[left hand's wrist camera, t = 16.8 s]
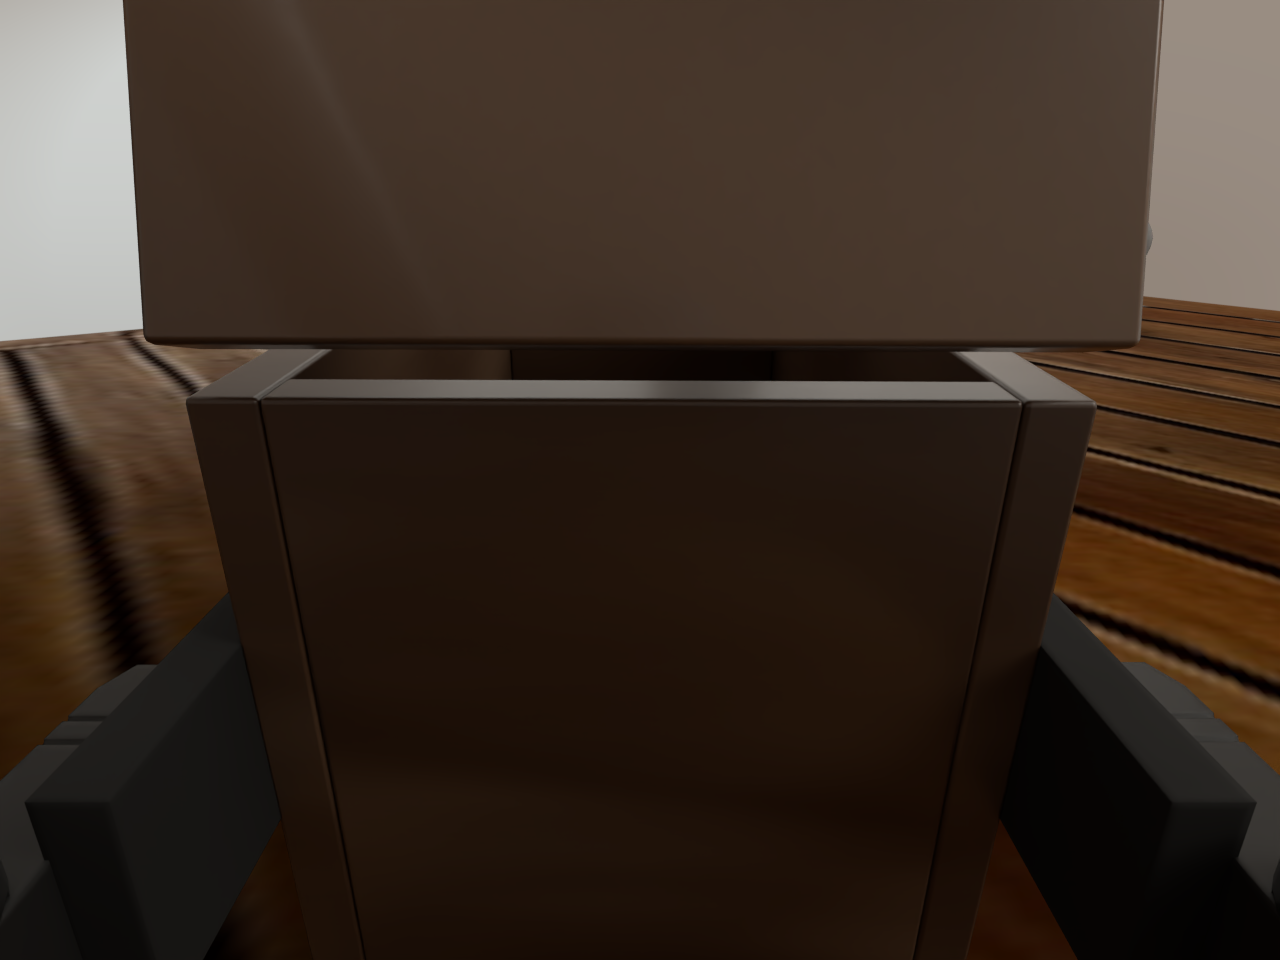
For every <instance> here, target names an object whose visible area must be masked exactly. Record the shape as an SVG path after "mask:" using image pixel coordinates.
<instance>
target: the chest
mask: <svg viewBox="0 0 1280 960" xmlns="http://www.w3.org/2000/svg"><path fill="white" fill-rule="evenodd" d="M186 407H187V411H188V415H189V420H190V424H191V429H192V433H193V437H194V442H195V446H196V450H197V455H198V459H199V464H200V468H201V472H202V477H203V481H204V485H205V490H206V494H207V499H208V503H209V507H210V512H211V516H212V521H213V525H214V529H215V534H216V538H217V542H218V547H219V551H220V556H221V560H222V564H223V569H224V573H225V577H226V582H227V586H228V591H229V595H230V599H231V604H232V608H233V613H234V617H235V621H236V626H237V630H238V634H239V639H240V643H241V646H242V650H243V655H244V659H245V663H246V668H247V672H248V676H249V681H250V685H251V689H252V694H253V698H254V702H255V707H256V711H257V715H258V720H259V724H260V728H261V733H262V737H263V741H264V746H265V750H266V754H267V759H268V763H269V767H270V772H271V776H272V780H273V785H274V789H275V793H276V798H277V802H278V806H279V811H280V815H281V823H282V827H283V832H284V836H285V840H286V845H287V849H288V853H289V858H290V862H291V867H292V871H293V875H294V880H295V884H296V889H297V893H298V897H299V902H300V906H301V910H302V915H303V919H304V924H305V928H306V932H307V937H308V941H309V946H310V950H311V954H312V959H313V960H966V959H967V954H968V950H969V946H970V942H971V937H972V933H973V929H974V925H975V921H976V916H977V912H978V908H979V904H980V899H981V895H982V891H983V887H984V883H985V878H986V874H987V870H988V866H989V861H990V857H991V853H992V849H993V845H994V840H995V836H996V832H997V828H998V823H999V819H1000V815H1001V811H1002V807H1003V802H1004V798H1005V794H1006V790H1007V785H1008V781H1009V777H1010V773H1011V769H1012V764H1013V760H1014V756H1015V752H1016V747H1017V743H1018V739H1019V735H1020V731H1021V726H1022V722H1023V718H1024V714H1025V709H1026V705H1027V701H1028V697H1029V692H1030V688H1031V684H1032V680H1033V676H1034V671H1035V667H1036V663H1037V659H1038V654H1039V650H1040V646H1041V642H1042V638H1043V633H1044V629H1045V625H1046V621H1047V616H1048V612H1049V608H1050V604H1051V600H1052V595H1053V591H1054V587H1055V583H1056V578H1057V574H1058V570H1059V566H1060V562H1061V557H1062V553H1063V549H1064V545H1065V540H1066V536H1067V532H1068V528H1069V524H1070V519H1071V515H1072V511H1073V507H1074V502H1075V498H1076V494H1077V490H1078V486H1079V481H1080V477H1081V473H1082V469H1083V464H1084V460H1085V456H1086V452H1087V448H1088V443H1089V439H1090V435H1091V431H1092V426H1093V422H1094V418H1095V414H1096V410H1097V405H1096V402H1095V401H1094V400H1092V399H1090V398H1089V397H1087V396H1085V395H1084V394H1082V393H1080V392H1079V391H1077V390H1075V389H1074V388H1072V387H1070V386H1068V385H1067V384H1065V383H1063V382H1062V381H1060V380H1058V379H1057V378H1055V377H1053V376H1052V375H1050V374H1048V373H1047V372H1045V371H1043V370H1042V369H1040V368H1038V367H1037V366H1035V365H1033V364H1032V363H1030V362H1028V361H1027V360H1025V359H1023V358H1022V357H1020V356H1018V355H1017V354H1015V353H1013V352H868V351H611V350H355V349H270V350H268V351H267V352H265V353H263V354H261V355H260V356H258V357H256V358H255V359H253V360H251V361H250V362H248V363H246V364H244V365H243V366H241V367H239V368H238V369H236V370H234V371H232V372H231V373H229V374H227V375H226V376H224V377H222V378H220V379H219V380H217V381H215V382H214V383H212V384H210V385H209V386H207V387H205V388H203V389H202V390H200V391H198V392H197V393H195V394H193V395H191V396H190V397H188V398H187V400H186Z"/></svg>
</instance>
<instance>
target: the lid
mask: <svg viewBox="0 0 1280 960" xmlns="http://www.w3.org/2000/svg"><path fill="white" fill-rule="evenodd" d="M1163 6H1164V0H123V10H124V26H125V42H126V58H127V74H128V90H129V107H130V123H131V139H132V155H133V171H134V187H135V203H136V220H137V236H138V252H139V268H140V284H141V300H142V316H143V333H144V337H145V339H146V341H148V342H150V343H152V344H154V345H164V346H175V347H185V348H196V349H355V350H611V351H868V352H1093V351H1105V350H1116V349H1128V348H1131V347H1134V346H1136V345H1137V344H1138V343H1139V340H1140V334H1141V319H1142V305H1143V291H1144V277H1145V263H1146V248H1147V234H1148V219H1149V206H1150V191H1151V177H1152V163H1153V149H1154V135H1155V120H1156V106H1157V92H1158V78H1159V63H1160V49H1161V35H1162V21H1163Z"/></svg>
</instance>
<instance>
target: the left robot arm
mask: <svg viewBox="0 0 1280 960" xmlns="http://www.w3.org/2000/svg"><path fill="white" fill-rule="evenodd" d="M280 819H281V815H280V811H279V806H278V802H277V798H276V793H275V789H274V785H273V780H272V776H271V772H270V767H269V763H268V759H267V754H266V750H265V746H264V741H263V737H262V733H261V728H260V724H259V720H258V715H257V711H256V707H255V702H254V698H253V694H252V689H251V685H250V681H249V676H248V672H247V668H246V663H245V659H244V655H243V650H242V646H241V643H240V639H239V634H238V630H237V626H236V621H235V617H234V613H233V608H232V604H231V599H230V595H229V592H228V593H227V594H226V595H225V596H224V597H223V598H222V599H221V600H220V601H219V602H218V603H217V604H216V605H215V607H214V608H213V609H212V610H211V611H210V612H209V613H208V614H207V615H206V616H205V617H204V618H203V619H202V620H201V621H200V622H199V623H198V624H197V625H196V626H195V627H194V628H193V629H192V630H191V631H190V632H189V633H188V634H187V635H186V636H185V637H184V638H183V639H182V640H181V641H180V642H179V644H178V645H177V646H176V647H175V648H174V649H173V650H172V651H171V652H170V653H169V654H168V655H167V656H166V657H165V658H164V659H163V660H162V661H161V662H160V663H159V664H158V665H136V666H135V667H133V668H131V669H129V670H128V671H126V672H124V673H123V674H121V675H119V676H117V677H116V678H114V679H112V680H111V681H109V682H107V683H105V684H104V685H102V686H100V687H99V688H97V689H96V690H95V691H94V692H93V693H92V694H91V695H90V696H89V697H88V698H87V699H85V700H84V701H83V702H82V703H81V704H80V705H79V706H78V707H77V708H76V709H75V710H74V711H73V712H72V713H71V714H70V715H69V716H68V721H62V722H61V723H60V724H59V725H58V726H57V727H56V728H55V729H54V730H53V731H52V732H51V733H50V734H49V735H48V736H47V737H46V738H45V739H44V744H43V745H37V746H36V747H35V748H34V749H33V750H32V751H31V752H30V753H29V754H28V755H27V756H26V757H25V758H24V759H23V760H22V761H21V762H20V763H19V764H18V765H16V766H15V767H14V768H13V769H12V770H11V771H10V772H9V773H8V774H7V775H6V776H5V777H4V778H3V779H2V780H1V781H0V960H203V959H204V957H205V955H206V953H207V951H208V950H209V948H210V946H211V944H212V942H213V941H214V939H215V937H216V935H217V933H218V932H219V930H220V928H221V926H222V924H223V922H224V921H225V919H226V917H227V915H228V913H229V912H230V910H231V908H232V906H233V904H234V903H235V901H236V899H237V897H238V895H239V894H240V892H241V890H242V888H243V886H244V884H245V883H246V881H247V879H248V877H249V875H250V874H251V872H252V870H253V868H254V866H255V865H256V863H257V861H258V859H259V857H260V856H261V854H262V852H263V850H264V848H265V846H266V845H267V843H268V841H269V839H270V837H271V836H272V834H273V832H274V830H275V828H276V827H277V825H278V823H279V821H280ZM1000 819H1001V821H1002V823H1003V825H1004V827H1005V828H1006V830H1007V832H1008V834H1009V836H1010V838H1011V839H1012V841H1013V843H1014V845H1015V847H1016V848H1017V850H1018V852H1019V854H1020V856H1021V857H1022V859H1023V861H1024V863H1025V865H1026V866H1027V868H1028V870H1029V872H1030V874H1031V876H1032V877H1033V879H1034V881H1035V883H1036V885H1037V886H1038V888H1039V890H1040V892H1041V894H1042V895H1043V897H1044V899H1045V901H1046V903H1047V904H1048V906H1049V908H1050V910H1051V912H1052V914H1053V915H1054V917H1055V919H1056V921H1057V923H1058V924H1059V926H1060V928H1061V930H1062V932H1063V933H1064V935H1065V937H1066V939H1067V941H1068V942H1069V944H1070V946H1071V948H1072V950H1073V952H1074V953H1075V955H1076V957H1077V959H1078V960H1280V776H1279V775H1278V774H1277V773H1276V772H1275V771H1274V770H1273V769H1272V768H1271V767H1270V766H1269V765H1268V764H1267V763H1266V762H1265V761H1264V760H1262V759H1261V758H1260V757H1259V756H1258V755H1257V754H1256V753H1255V752H1254V751H1253V750H1252V749H1251V748H1250V747H1249V746H1248V745H1247V744H1246V743H1245V742H1239V741H1238V736H1237V735H1236V734H1235V733H1234V732H1233V731H1232V730H1231V729H1230V728H1229V727H1228V726H1227V725H1226V724H1225V723H1224V722H1222V721H1221V720H1220V719H1215V718H1214V713H1213V712H1212V711H1211V710H1210V709H1209V708H1208V707H1207V706H1206V705H1205V704H1204V703H1202V702H1201V701H1200V700H1199V699H1198V698H1197V697H1196V696H1195V695H1194V694H1193V693H1192V692H1191V691H1190V690H1189V689H1188V688H1187V687H1186V686H1184V685H1183V684H1181V683H1179V682H1178V681H1176V680H1174V679H1172V678H1171V677H1169V676H1167V675H1165V674H1164V673H1162V672H1160V671H1159V670H1157V669H1155V668H1153V667H1152V666H1150V665H1148V664H1146V663H1145V662H1120V661H1119V660H1118V659H1117V658H1116V657H1115V656H1114V655H1113V654H1112V653H1111V652H1110V651H1109V650H1108V649H1107V648H1106V647H1105V646H1104V645H1103V643H1102V642H1101V641H1100V640H1099V639H1098V638H1097V637H1096V636H1095V635H1094V634H1093V633H1092V632H1091V631H1090V630H1089V629H1088V628H1087V627H1086V626H1085V625H1084V624H1083V623H1082V622H1081V621H1080V620H1079V619H1078V618H1077V617H1076V616H1075V615H1074V614H1073V613H1072V612H1071V611H1070V610H1069V609H1068V608H1067V606H1066V605H1065V604H1064V603H1063V602H1062V601H1061V600H1060V599H1059V598H1058V597H1057V596H1056V595H1055V594H1054V593H1053V595H1052V600H1051V604H1050V608H1049V612H1048V616H1047V621H1046V625H1045V629H1044V633H1043V638H1042V642H1041V646H1040V650H1039V654H1038V659H1037V663H1036V667H1035V671H1034V676H1033V680H1032V684H1031V688H1030V692H1029V697H1028V701H1027V705H1026V709H1025V714H1024V718H1023V722H1022V726H1021V731H1020V735H1019V739H1018V743H1017V747H1016V752H1015V756H1014V760H1013V764H1012V769H1011V773H1010V777H1009V781H1008V785H1007V790H1006V794H1005V798H1004V802H1003V807H1002V811H1001V815H1000Z"/></svg>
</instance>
